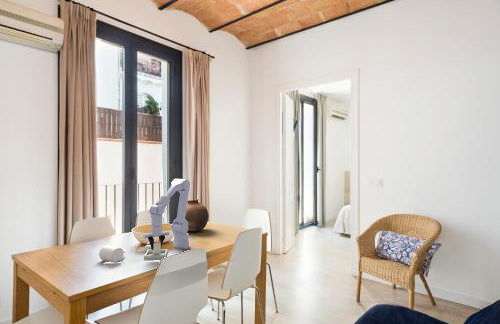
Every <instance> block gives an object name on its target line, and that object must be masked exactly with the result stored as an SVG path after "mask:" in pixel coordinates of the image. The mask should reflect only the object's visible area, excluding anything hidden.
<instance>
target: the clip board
mask: <svg viewBox="0 0 500 324" xmlns="http://www.w3.org/2000/svg"><path fill="white" fill-rule="evenodd" d="M147 250H152V249H151V245H150V242H149V241H148V242H147V243H146V245H145V246H138V247H137V249H136V250H135V253H146V252H147Z"/></svg>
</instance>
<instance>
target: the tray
mask: <svg viewBox="0 0 500 324" xmlns="http://www.w3.org/2000/svg"><path fill="white" fill-rule="evenodd" d="M168 251H169V250H168V248H163V249H162V248H161V253H164V254H155V255H153V254H152V250H147V252H144V254H143V259H144V260H153V259H164V258H163V257H167V254H168ZM149 253H150V254H151V255H148V254H149Z"/></svg>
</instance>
